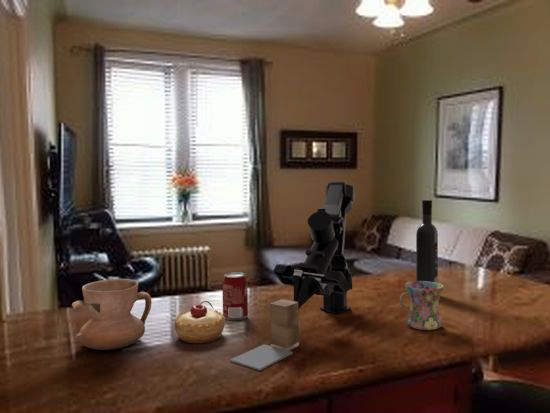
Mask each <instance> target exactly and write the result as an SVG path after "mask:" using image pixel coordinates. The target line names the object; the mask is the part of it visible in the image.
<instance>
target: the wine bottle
mask: <svg viewBox="0 0 550 413" xmlns="http://www.w3.org/2000/svg"><path fill="white" fill-rule="evenodd" d="M421 203H422V204H421V208H422V212H421V213H422V214H421V215H422V223H421V224H420V225H419V226H418V227H417V229H416V233H415V234H416V235H415V236H416V238H415V240H416V241H415V243H416V244H415V245H416V246H415V248H416V249H415V253H416V254H415V258H416V259H415V264H416V265H415V266H416V268H415V272H416V273H415V276H416V277H415V281H430V282H436V283H439V282H438V281H439V280H438V277H439V276H438V275H439V272H438V269H439V267H438V266H439V264H438V263H439V262H438V261H439V260H438V256H439V255H438V254H439V250H438V246H439V242H438V240H439V238H438V235H439V234H438V229H437V227H436V225H434V224H433V223H432V222H433V221H432V218H433V217H432V216H433V213H432V212H433V211H432V210H433V200H431V199H429V200H428V199H424V200H421Z"/></svg>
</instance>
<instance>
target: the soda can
mask: <svg viewBox="0 0 550 413" xmlns="http://www.w3.org/2000/svg"><path fill="white" fill-rule="evenodd" d="M223 275H224V278H223V280H222V281H221V282H222V284H221V285H222V290H221V291H222V314H223V315H224V317H225V320H228V321H231V322H236V321H243V320H244V319H245V318H246V319H247V317H248V316H249V306H248V305H249V304H248V303H249V302H248V301H249V300H248V298H249V297H248V294H249V293H248V280H247V278H246V274H245V273H243V272H227V273H225V274H223Z"/></svg>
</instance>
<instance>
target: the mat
mask: <svg viewBox="0 0 550 413" xmlns="http://www.w3.org/2000/svg"><path fill="white" fill-rule="evenodd" d="M293 353H294V352H293V351H292V350H289V351H287V350H284V349H280V348H276V347H273V346H271V345H268V344H262V345H259V346H257V347H255V348H253V349H251V350H248V351H246V352H244V353H242V354H240V355H237V356H234V358H231V359H230V362H231V363H234V364H237V365H240V366H244V367H247V368H250V369H253V370H256V371H260V372H261V371H262V370H265V369H266V368H268V367H270V366H272V365H274V364H275V363H277V362H280V361H281V360H284V359H285V358H287V357H290V356H291V355H293Z"/></svg>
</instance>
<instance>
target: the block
mask: <svg viewBox="0 0 550 413" xmlns="http://www.w3.org/2000/svg"><path fill="white" fill-rule="evenodd" d="M269 312H270V313H269V314H270V315H269V316H270V318H269V319H270V320H269V321H270V322H269V324H270V346H273V347H276V348H280V349H284V350H287V351H292V350H294V349H296V348H297V347H299V344H300V339H299V338H300V331H299V329H300V328H299V309H298V302H295V301H294V300H289V299H284V298H283V299H282V298H281V299H279V300H276V301H273V302H271V303H269Z"/></svg>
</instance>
